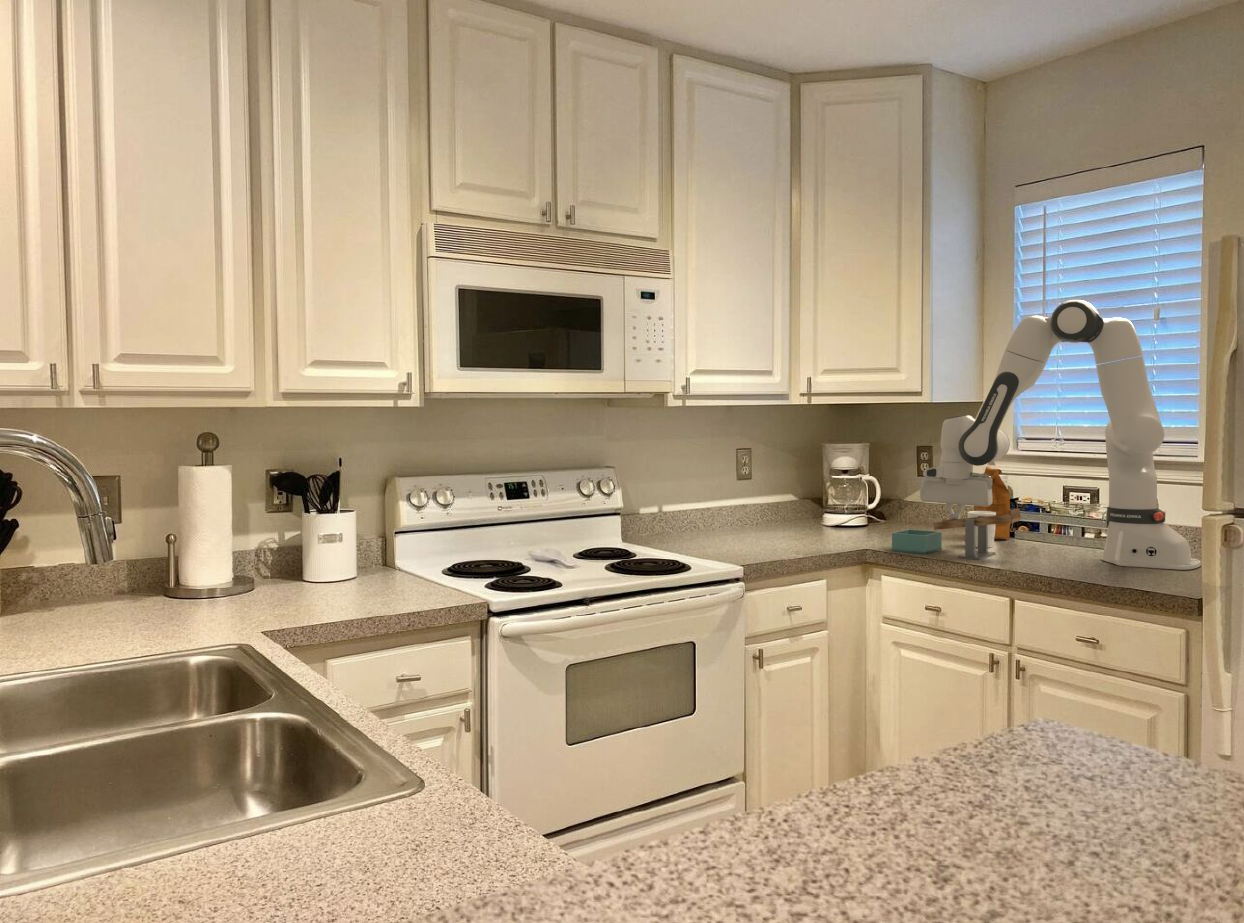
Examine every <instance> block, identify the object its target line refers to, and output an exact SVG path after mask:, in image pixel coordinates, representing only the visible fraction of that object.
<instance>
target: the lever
mask: <svg viewBox="0 0 1244 923" xmlns="http://www.w3.org/2000/svg"><path fill="white" fill-rule="evenodd" d="M1020 511H1021V510H1020V508H1014V509H1010V510H1009V511H1008V514H1004V515H993V516H983V517H973V518H968V517H967V518H966V517H965V518H961V519H953V520H950V519H946V520H941V521H936V522H933V531H936V530H937V531H938V530H947V529H957V528H965V519H974V520H976V524H975V526H981V525H992V524H1003V523H1011V524H1013V523H1016V522H1021V521H1022V517H1021V512H1020Z"/></svg>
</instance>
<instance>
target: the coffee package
mask: <svg viewBox="0 0 1244 923" xmlns="http://www.w3.org/2000/svg"><path fill="white" fill-rule="evenodd" d="M983 473H985V474H987V475H989V476H990V477H991V478H992V488H991V489H992V500H993V501H992V504H991V505H990V506H987V507H982V506H973V511H991V512H996V515H1004V514H1008V511H1009V510H1011V505H1010V504H1011V501H1010V500H1011V494H1010V490H1009V489H1008V487H1007V485H1006V484H1005V483H1004V481H1003V479H1002V478H1001V476H1000V475H1002V473H1003V471H1002V470H1001V469H1000V468H991V467H990V466H986V467H985V469H984V472H983ZM986 478H989V477H986ZM1011 524H1012V523H1003V524H996V525H995V537H994V541H995V540H1003V539H1004V540H1005V539H1010V530H1011V528H1010V527H1011Z"/></svg>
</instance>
